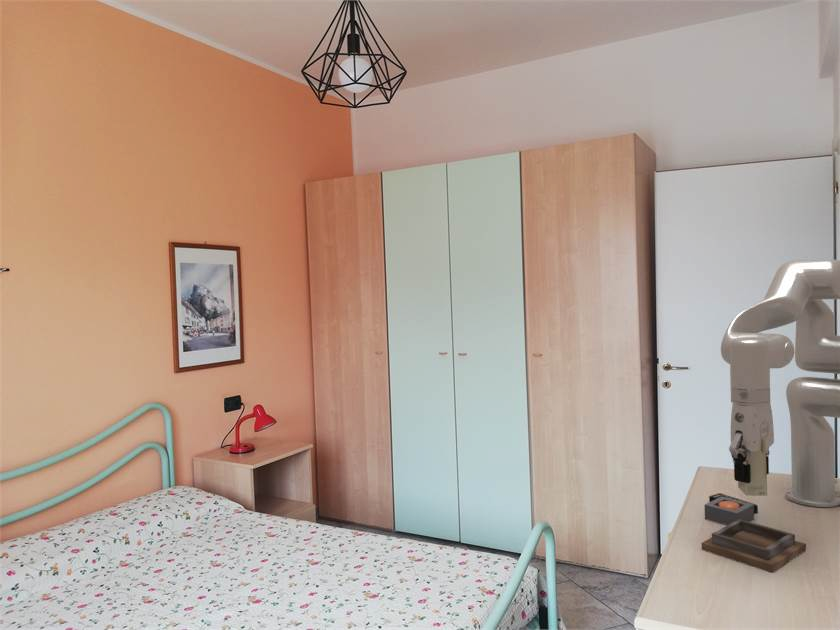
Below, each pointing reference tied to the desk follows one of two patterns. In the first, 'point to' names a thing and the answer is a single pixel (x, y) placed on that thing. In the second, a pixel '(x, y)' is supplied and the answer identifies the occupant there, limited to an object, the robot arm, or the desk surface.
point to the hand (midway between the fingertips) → (751, 476)
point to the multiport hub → (731, 498)
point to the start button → (729, 505)
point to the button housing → (728, 511)
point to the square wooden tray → (754, 545)
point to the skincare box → (756, 473)
